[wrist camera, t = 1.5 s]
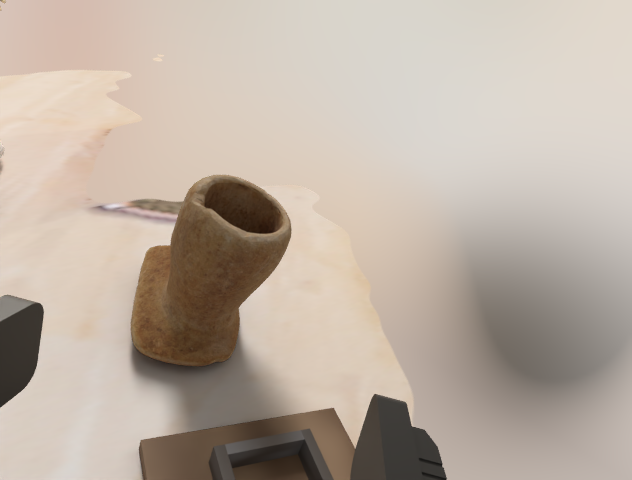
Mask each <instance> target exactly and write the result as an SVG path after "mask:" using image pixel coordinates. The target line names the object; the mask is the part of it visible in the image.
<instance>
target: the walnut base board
mask: <svg viewBox="0 0 632 480" xmlns="http://www.w3.org/2000/svg"><path fill="white" fill-rule="evenodd" d="M139 452H140V459H141V466H142V472H143V479H144V480H350V475H351V467H352V461H353V457H354V453H355V448H354V446H353V444H352V442H351V440H350V438H349V436H348V434H347V432H346V431H345V429H344V427H343V425H342V423H341V421H340V419H339V417H338V415H337V414H336V412H335V410H334V408H330V409H324V410H318V411H312V412H306V413H300V414H294V415H288V416H282V417H276V418H270V419H264V420H258V421H252V422H246V423H240V424H234V425H228V426H222V427H216V428H210V429H204V430H199V431H193V432H187V433H181V434H175V435H169V436H163V437H157V438H151V439H145V440H141V442H140V447H139Z"/></svg>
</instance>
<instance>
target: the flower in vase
mask: <svg viewBox="0 0 632 480" xmlns="http://www.w3.org/2000/svg"><path fill="white" fill-rule="evenodd" d="M0 1H1V2H3V3H6V1H5V0H0ZM0 11H1V7H0ZM3 154H4V147H3V144H2V142H1V140H0V157H1V156H2V155H3Z"/></svg>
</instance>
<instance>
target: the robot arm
mask: <svg viewBox="0 0 632 480" xmlns="http://www.w3.org/2000/svg"><path fill="white" fill-rule="evenodd" d="M43 315H44V310H43V307H42V305H41V304H40V303H37V302H33V301H29V300H26V299H22V298H18V297H14V296H11V295H4V296H2V297H0V407H2V406H3V405H4V404H5V403H7V402H8V401H9V400H11V399H12V398H13V397H14V396H16V395H17V394H18V393H19V392H21V391H22V390H23V389H24V388H25V387H26V386H27V384H28V383H29V382H30V380H31V378H32V376H33V374H34V372H35V369H36V366H37V361H38V353H39V346H40V338H41V331H42V323H43ZM446 479H447V478H446V475H445V472H444V468H443V467H442V461H441V457H440V454H439V450H438V447H437V446H436V444H435V443H434V442H433V440H432V439H431V438H430V436H429V435H428V434H427V433H426V431H425V430H423V429H419V428H416V427H412V426H411V421H410V417H409V412H408V408H407V404H406V402H403V401H400V400H396V399H392V398H388V397H385V396H381V395H377V394H374V396H373V397H372V399H371V402H370V405H369V408H368V411H367V414H366V417H365V421H364V424H363V427H362V430H361V433H360V436H359V440H358V443H357V446H356V449H355V453H354V457H353V461H352V467H351V475H350V480H446Z"/></svg>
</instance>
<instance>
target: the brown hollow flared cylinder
mask: <svg viewBox="0 0 632 480" xmlns="http://www.w3.org/2000/svg"><path fill="white" fill-rule="evenodd" d="M290 238H291V223H290V219H289V217H288V215H287V213H286V211H285V210H284V208H283V207H282V206H281V205H280V203H279V202H278V201H277V200H276V199H275V198H274V197H272V196H271V195H269V194H267V193H266V192H265V190H263V189H261V188H260V187H258V186H256V185H254V184H252V183H250V182H248V181H246V180H244V179H241V178H238V177H234V176H229V175H213V176H209V177H206V178H203V179H201V180H199V181H198V182H196V183H195V184H194V185H193V186H192V187H191V188H190V189H189V191H188V193H187V195H186V197H185V199H184V202H183V204H182V207H181V209H180V212H179V215H178V218H177V221H176V224H175V227H174V230H173V233H172V237H171V245H170V246H155V247H152V248H150V249H149V250H148V251H147V252H146V255H145V258H144V261H143V264H142V268H141V271H140V276H139V281H138V286H137V290H136V294H135V300H134V305H133V311H132V319H131V335H132V340H133V343H134V346H135V347H136V348H137V349H138V351H140V352H141V353H142V354H144V355H146V356H148V357H150V358H153V359H156V360H160V361H163V362H166V363H173V364H178V365H185V366H205V365H209V364H212V363H214V362H223V361H225V360H227V359H228V358H230V357H231V355H232V353H233V351H234V349H235V346H236V341H237V337H238V331H239V321H240V318H239V307H240V305H241V304H242V303H243V302H244V301H245V300H246V299H247V298H248V297H249V296H250V295H251V294H252V293H253V292H254V291H255V290H256V289H257V288H258V287H259V286H260V285H261V284H262V283H263V282H264V281H265V280H266V279H267V278H268V277H269V276H270V274H271V273H272V272H273V271H274V270H275V268H276V267H277V265H278V264H279V262H280V260H281V259H282V257H283V255H284V253H285V251H286V249H287V246H288V243H289V241H290Z"/></svg>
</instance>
